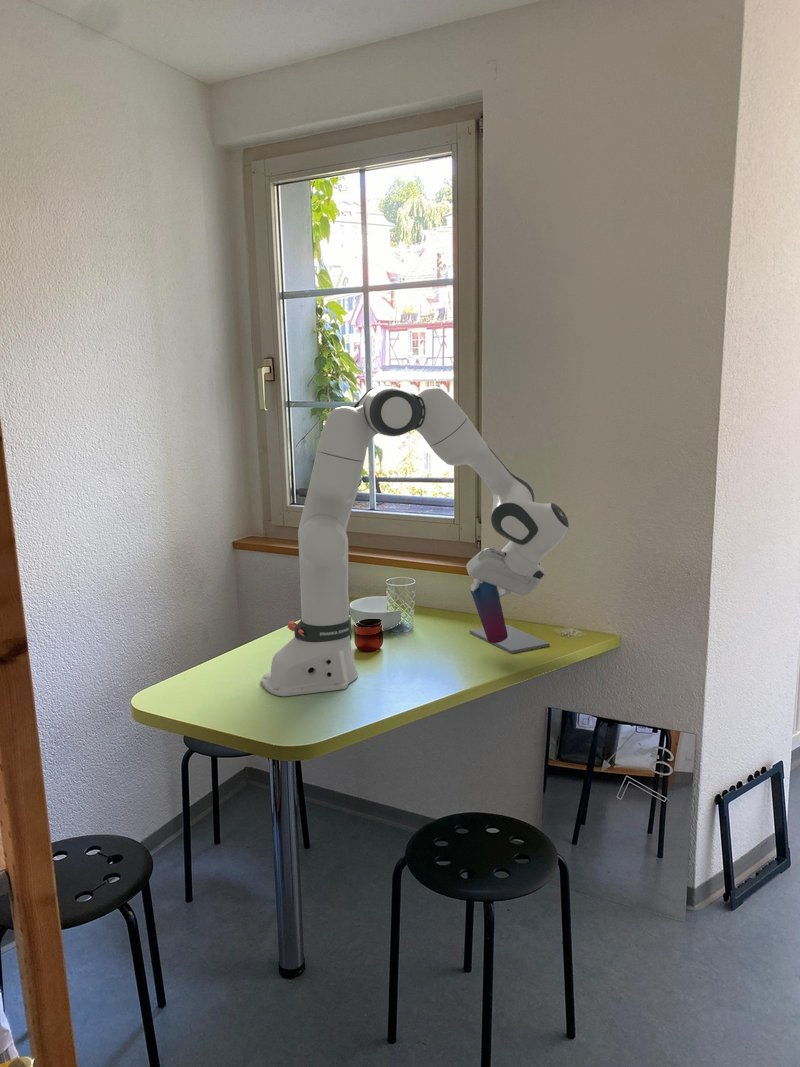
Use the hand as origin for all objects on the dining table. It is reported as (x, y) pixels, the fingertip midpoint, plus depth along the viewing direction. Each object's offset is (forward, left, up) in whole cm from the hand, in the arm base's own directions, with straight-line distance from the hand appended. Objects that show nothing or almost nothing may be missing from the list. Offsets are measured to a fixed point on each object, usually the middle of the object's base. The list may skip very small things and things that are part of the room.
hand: (483, 593), depth 203 cm
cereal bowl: (-14, +32, -15) cm, 39 cm away
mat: (+11, +4, -15) cm, 19 cm away
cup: (-2, -10, -9) cm, 13 cm away
